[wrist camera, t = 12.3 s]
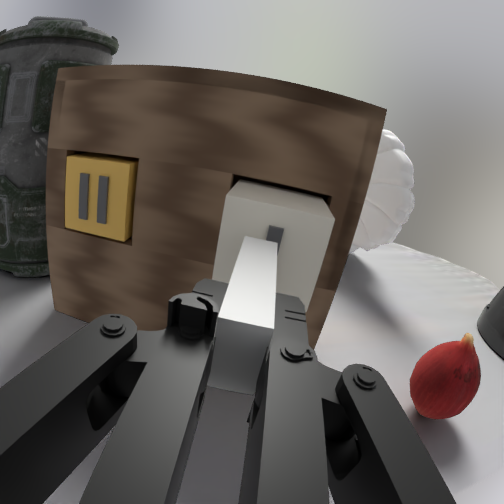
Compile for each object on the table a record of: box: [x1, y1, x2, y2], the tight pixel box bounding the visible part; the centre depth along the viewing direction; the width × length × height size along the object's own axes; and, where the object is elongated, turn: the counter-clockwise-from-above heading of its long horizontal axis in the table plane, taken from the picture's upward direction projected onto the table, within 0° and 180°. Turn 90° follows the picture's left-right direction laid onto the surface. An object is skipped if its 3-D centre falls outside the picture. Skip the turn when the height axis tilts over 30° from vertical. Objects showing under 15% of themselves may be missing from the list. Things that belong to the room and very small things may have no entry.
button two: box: [65, 152, 139, 241], centre depth 21 cm, size 5×5×5 cm
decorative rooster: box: [349, 130, 415, 254], centre depth 44 cm, size 25×16×25 cm, turn 9°
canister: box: [0, 17, 119, 277], centre depth 27 cm, size 16×16×28 cm
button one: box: [212, 179, 335, 312], centre depth 18 cm, size 5×5×5 cm
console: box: [46, 65, 387, 350], centre depth 23 cm, size 22×8×20 cm, turn 85°
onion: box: [410, 333, 481, 419], centre depth 19 cm, size 6×6×8 cm
